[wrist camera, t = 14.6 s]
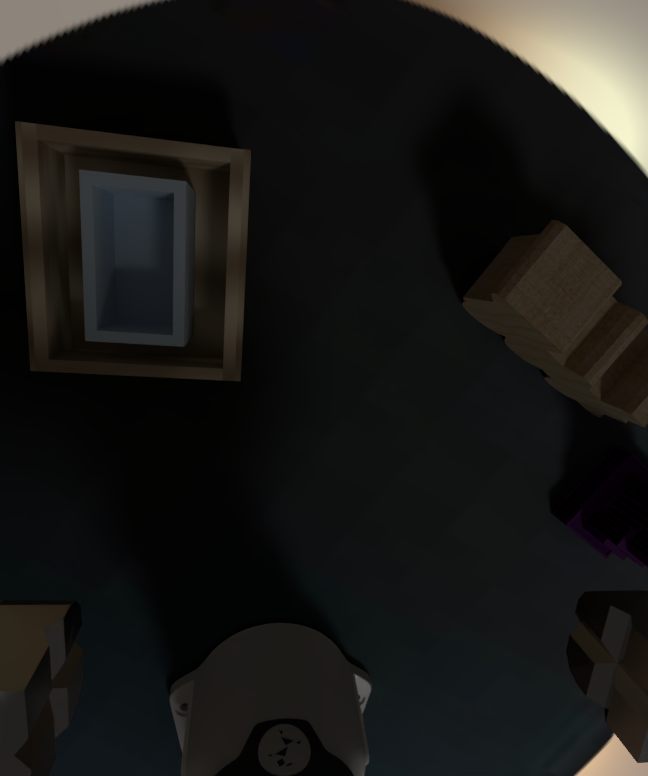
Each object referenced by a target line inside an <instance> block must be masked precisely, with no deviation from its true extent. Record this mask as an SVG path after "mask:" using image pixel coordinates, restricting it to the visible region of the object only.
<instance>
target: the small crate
mask: <svg viewBox="0 0 648 776" xmlns="http://www.w3.org/2000/svg"><path fill="white" fill-rule="evenodd" d="M79 180H80V208H81V237H82V265H83V293H84V321H85V341H94V342H111V343H128V344H146V345H163V346H180V347H184V346H185V345H186V344H187V342H188V341H189V340H190V339H191V338H192V337H193V321H194V268H195V214H196V193H195V191H194V190H193V189H192V188H191V187H190V185H189V184H188V183H187V182H186V181H179V180H170V179H161V178H152V177H143V176H133V175H124V174H115V173H106V172H97V171H88V170H79Z"/></svg>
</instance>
